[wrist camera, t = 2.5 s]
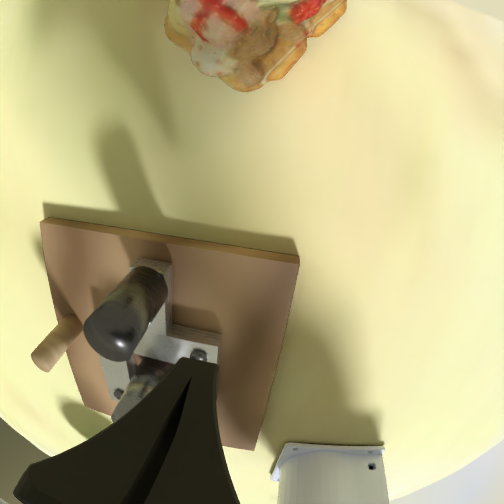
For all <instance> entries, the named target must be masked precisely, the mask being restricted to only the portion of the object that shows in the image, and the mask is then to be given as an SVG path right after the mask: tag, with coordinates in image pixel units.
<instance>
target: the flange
mask: <svg viewBox="0 0 504 504" xmlns="http://www.w3.org/2000/svg"><path fill="white" fill-rule="evenodd" d="M83 332H84V336H85V338H86V340H87V342H88V343H89V345H90V346H91V347H92V348H93V349H94V350H95V351H96V352H97V353H98V354H99V356H100V361H101V365H102V369H103V373H104V377H105V380H106V384H107V388H108V391H109V395H110V398H111V399H113V400H115V401H118V402H119V400H120V398H121V397H122V395H123V393H124V391H125V389H126V387H127V386H128V384H129V382H130V380H131V378H132V376H133V375H134V373H135V371H136V366H135V359H134V354H138V355H142V356H145V357H149V358H153V359H157V360H161V361H165V362H169V363H173V364H176V362H177V361H178V360H179V359H180V358H181V357H186V358H191V359H196V360H201V361H205V362H210V363H216V364H217V365H218V366H219V365H220V353H221V342H222V333H216V332H211V331H206V330H201V329H196V328H191V327H186V326H181V325H177V324H173V319H172V263H168V262H163V261H157V260H152V259H146V258H141V257H138V258H137V259H136V260H135V261H134V262H133V263H132V264H131V265H130V266H129V273H128V274H127V275H126V276H125V277H124V278H123V279H122V280H121V282H120V283H119V284H118V285H117V286H116V287H115V288H114V289H113V290H112V291H111V292H110V293H109V295H108V296H107V297H106V298H105V299H104V300H103V301H102V302H101V303H100V305H99V306H98V307H97V308H96V309H95V310H94V311H93V312H92V313H91V315H90V316H89V317H88V318H87V319H86V320H85V322H84V325H83Z"/></svg>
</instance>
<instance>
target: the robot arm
mask: <svg viewBox="0 0 504 504" xmlns="http://www.w3.org/2000/svg"><path fill="white" fill-rule="evenodd" d="M218 379H219V366H218V365H217V364H216V363H210V362H205V361H201V360H196V359H191V358H186V357H181V358H180V359H179V360H178V361H177V362H176V364H175V365H174V366H173V367H172V369H171V370H170V371H169V372H168V373H167V374H166V376H165V377H164V378H163V379H162V380H161V381H160V382H159V383H158V384H157V385H156V386H155V387H154V388H153V389H152V390H151V391H150V392H149V393H148V394H147V395H146V396H145V397H144V398H143V399H142V400H141V401H140V402H139V403H138V404H136V405H135V406H134V407H133V408H132V409H131V410H130V411H128V412H127V413H126V414H125V415H123V416H122V417H121V418H120V419H118V420H117V421H116V422H114V423H113V424H112V425H110V426H109V427H107V428H106V429H104V430H103V431H101V432H100V433H98V434H96V435H95V436H93V437H92V438H90V439H88V440H87V441H85V442H83V443H81V444H79V445H77V446H75V447H73V448H71V449H69V450H67V451H65V452H63V453H60V454H58V455H56V456H53V457H50V458H47V459H45V460H42V461H39V462H36V463H33V464H31V465H30V466H29V467H28V468H27V470H26V471H25V472H24V473H23V475H22V477H21V478H20V480H19V482H18V484H17V486H16V487H15V489H14V491H13V494H14V496H15V497H16V498H17V499H18V500H19V501H21V502H22V503H23V504H240V502H239V500H238V497H237V494H236V491H235V489H234V486H233V483H232V480H231V477H230V474H229V471H228V467H227V464H226V460H225V456H224V452H223V448H222V443H221V438H220V432H219V426H218V418H217V406H216V400H217V391H218ZM384 452H385V447H384V446H333V445H314V444H301V443H286V444H285V445H284V447H283V449H282V452H281V454H280V456H279V459H278V461H277V463H276V466H275V468H274V470H273V472H272V475H271V480H273V481H279V490H278V502H277V504H389V498H388V491H387V484H386V477H385V470H384V464H383V457H382V454H383V453H384ZM0 504H8V503H7V502H5V501H4V500H3V499H1V498H0Z"/></svg>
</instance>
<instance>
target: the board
mask: <svg viewBox="0 0 504 504" xmlns="http://www.w3.org/2000/svg"><path fill="white" fill-rule="evenodd" d="M40 228H41V237H42V244H43V251H44V257H45V263H46V269H47V275H48V280H49V285H50V290H51V295H52V299H53V304H54V308H55V312H56V317H57V321H58V324H59V323H60V322H61V321H62V320H63V319H64V317H65V316H66V315H68V314H72V315H75V316H76V317H77V318H78V319H79V320H80V321H81V323H82V325H84V322H85V320H86V319H87V318H88V317H89V316H90V315H91V313H92V312H93V311H94V310H95V309H96V308H97V307H98V306H99V305H100V303H101V302H102V301H103V300H104V299H105V298H106V297H107V296H108V295H109V293H110V292H111V291H112V290H113V289H114V288H115V287H116V286H117V285H118V284H119V283H120V282H121V280H122V279H123V278H124V277H125V276H126V275H127V274H128V273H129V266H130V265H131V264H132V263H133V262H134V261H135V260H136V259H137V258H138V257H141V258H146V259H152V260H157V261H163V262H168V263H172V319H173V324H177V325H181V326H186V327H191V328H196V329H201V330H206V331H211V332H216V333H222V342H221V353H220V365H219V379H218V391H217V400H216V406H217V418H218V426H219V432H220V438H221V443H222V446H227V447H232V448H238V449H245V450H251V451H254V449H255V446H256V442H257V439H258V435H259V431H260V428H261V424H262V420H263V417H264V413H265V409H266V406H267V402H268V398H269V394H270V390H271V386H272V383H273V379H274V375H275V371H276V367H277V363H278V359H279V354H280V350H281V346H282V342H283V338H284V334H285V329H286V325H287V321H288V316H289V312H290V308H291V303H292V299H293V294H294V289H295V285H296V280H297V276H298V271H299V266H300V259H299V256H294V255H287V254H281V253H275V252H269V251H262V250H256V249H250V248H243V247H237V246H231V245H225V244H218V243H212V242H206V241H199V240H193V239H187V238H180V237H174V236H168V235H161V234H155V233H148V232H142V231H136V230H129V229H123V228H116V227H110V226H104V225H97V224H91V223H84V222H78V221H71V220H65V219H58V218H52V217H48V218H46V219H44V220H43V221H41V222H40ZM66 353H67V356H68V359H69V363H70V366H71V369H72V372H73V375H74V378H75V381H76V383H77V386H78V389H79V392H80V394H81V397H82V400H83V402H84V405H85V406H86V407H89V408H91V409H94V410H96V411H99V412H102V413H105V414H107V415H110V416H111V415H112V413H113V411H114V410H115V408H116V406H117V404H118V401H115V400H113V399H111V398H110V395H109V391H108V388H107V384H106V380H105V377H104V373H103V369H102V365H101V361H100V356H99V354H98V353H97V352H96V351H95V350H94V349H93V348H92V347H91V346H90V345H89V343H88V342H87V340H86V338H85V336H84V332H83V331H82V332H81V333H80V334H79V335H78V337H77V338H76V339H75V340H74V341H73V343H72V344H71V345H70V346H69V348H68V349H67V350H66ZM143 357H144V356H142V355H138V354H134V359H135V366H136V369H137V367H138V366H139V364H140V362H141V360H142V359H143Z"/></svg>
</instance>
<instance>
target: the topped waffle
mask: <svg viewBox="0 0 504 504" xmlns="http://www.w3.org/2000/svg"><path fill="white" fill-rule="evenodd" d="M346 2H347V0H170V3H169V7H168V16H167V17H166V19H165V24H164V26H165V31H166V34H167V36H168V38H169V39H170V40H171V41H172V42H173V43H174V44H176V45H177V46H179V47H180V48H182V49H183V50H185V51H186V52H188V53H189V54H190V55H191V60H192V62H193V64H194V65H195V66H196V67H197V68H198V69H199V70H200V71H201V72H202V73H204V74H206V75H209V76H213V77H216V76H218V77H219V78H220V79H221V80H223V81H224V82H225V83H226V84H227V85H229V86H230V87H231V88H233V89H235V90H238V91H241V92H249V91H253V90H256V89H258V88H260V87H262V86H263V85H265V84H266V83H267V82H269V81H272V80H279V79H281V78H283V77H284V76H285V75H286V74H287V73H288V71H289V70H290V69H291V68H292V67H293V66H294V64H295V63H296V62H297V61H298V60H299V59H300V57H301V56H302V55H303V54H304V53H305V51H306V48H307V42H306V40H307V38H309V37H319V36H321V35H322V34H323V33H325V32H326V31H327V30H328V29H329V28H330V27H331V26H332V25H333V24H334V23H335V22H336V21H337V20H338V19H339V18H340V17H341V16H342V15H343V14H344V13H345V11H346V8H347V3H346Z"/></svg>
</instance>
